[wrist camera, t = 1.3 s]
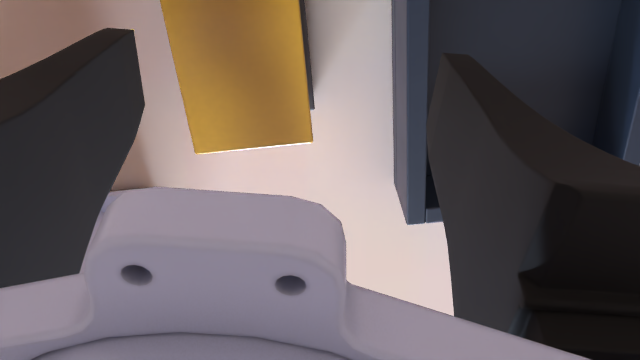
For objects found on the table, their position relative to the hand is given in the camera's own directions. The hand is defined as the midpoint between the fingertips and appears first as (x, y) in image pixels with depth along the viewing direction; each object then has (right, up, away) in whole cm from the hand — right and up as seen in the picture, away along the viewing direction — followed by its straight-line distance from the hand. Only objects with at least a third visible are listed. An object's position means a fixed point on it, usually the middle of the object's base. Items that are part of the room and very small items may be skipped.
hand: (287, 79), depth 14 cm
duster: (-2, +5, +8) cm, 10 cm away
